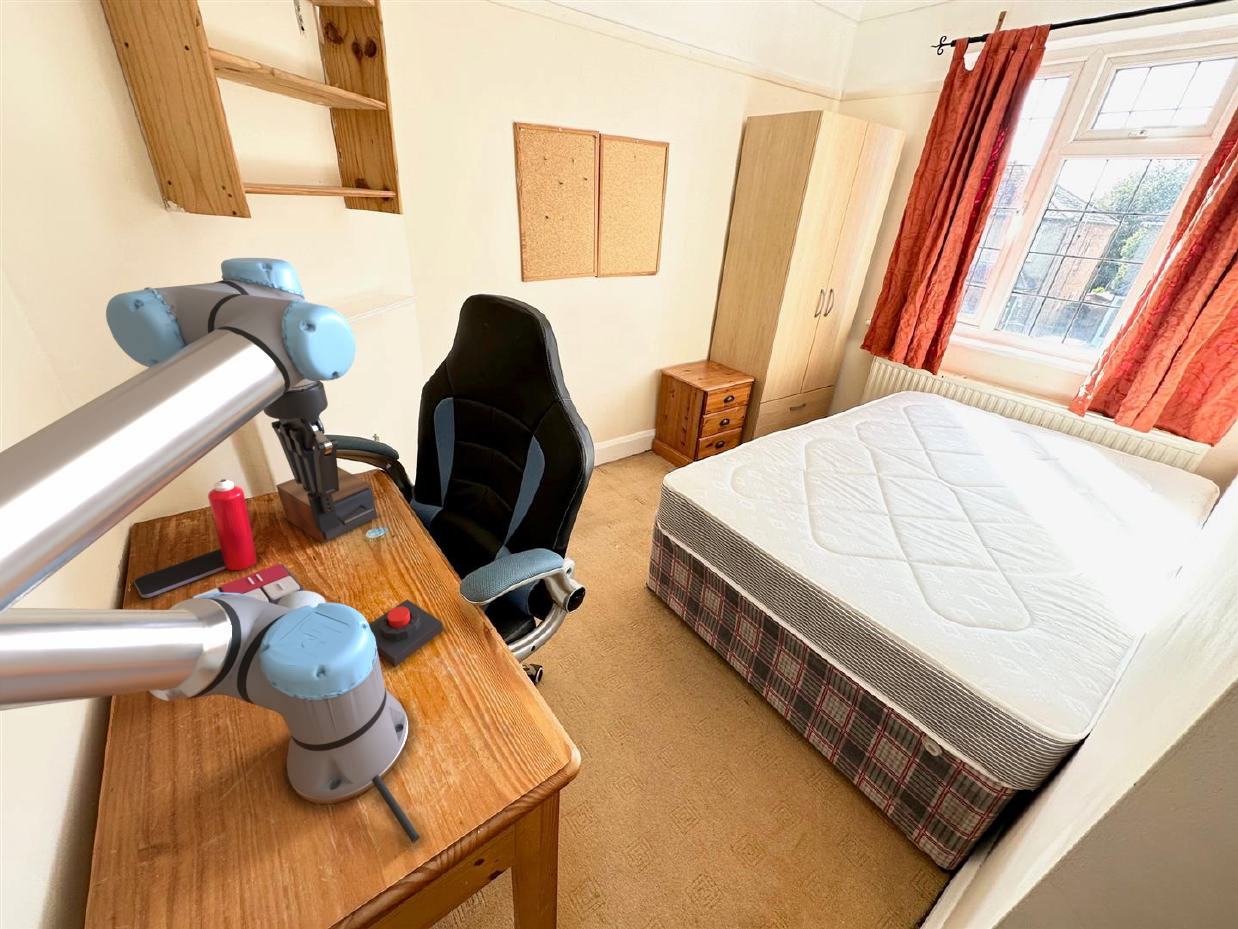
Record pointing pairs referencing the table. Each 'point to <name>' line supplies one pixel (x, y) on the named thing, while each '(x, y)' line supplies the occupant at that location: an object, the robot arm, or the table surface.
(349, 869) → the table surface
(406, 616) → the button
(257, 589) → the calculator
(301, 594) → the ceramic mug
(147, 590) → the smartphone
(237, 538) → the bottle
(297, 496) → the cabinet
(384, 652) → the panel
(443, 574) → the table surface
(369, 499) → the drawer
